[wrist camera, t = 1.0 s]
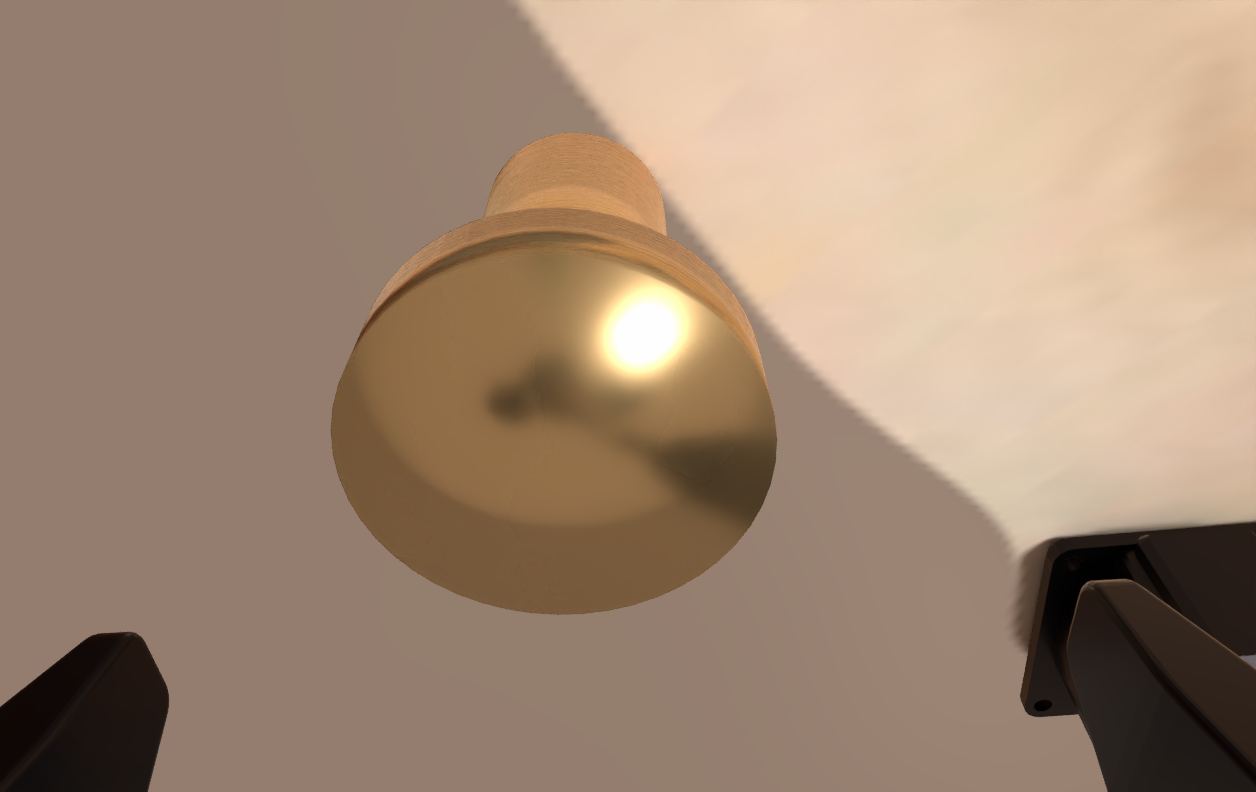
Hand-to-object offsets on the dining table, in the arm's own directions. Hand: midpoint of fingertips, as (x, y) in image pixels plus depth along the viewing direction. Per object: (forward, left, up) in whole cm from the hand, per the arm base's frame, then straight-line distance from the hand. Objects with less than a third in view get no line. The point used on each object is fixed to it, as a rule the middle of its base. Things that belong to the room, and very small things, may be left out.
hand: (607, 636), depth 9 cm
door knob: (-1, +1, -12) cm, 12 cm away
